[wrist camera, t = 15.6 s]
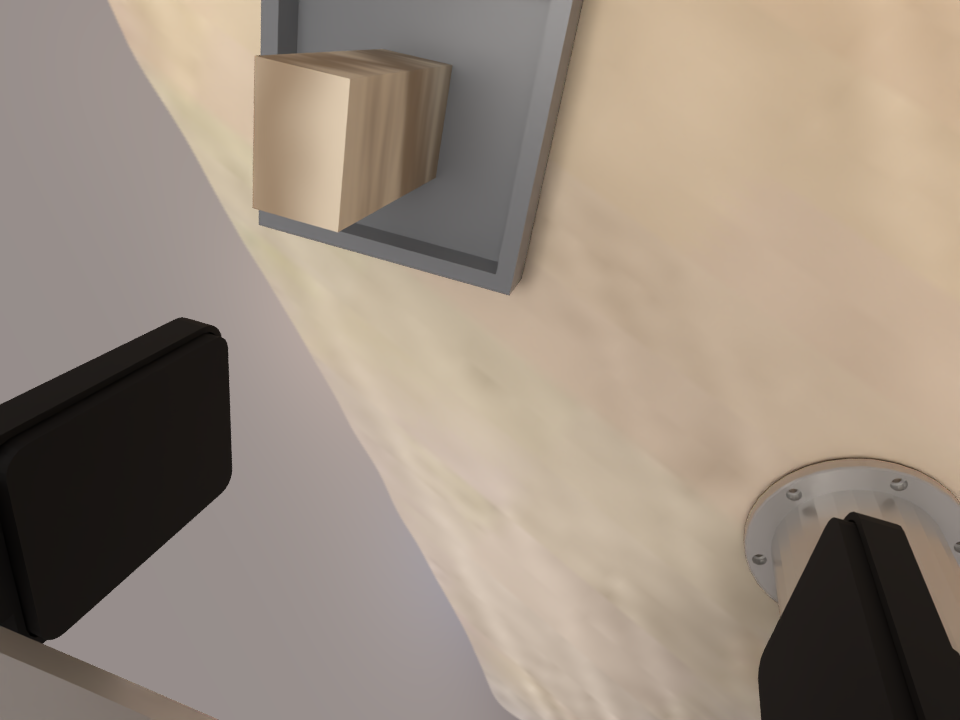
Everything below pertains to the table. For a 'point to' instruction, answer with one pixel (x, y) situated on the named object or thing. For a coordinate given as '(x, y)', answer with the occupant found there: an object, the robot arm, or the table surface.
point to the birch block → (344, 132)
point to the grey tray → (452, 124)
